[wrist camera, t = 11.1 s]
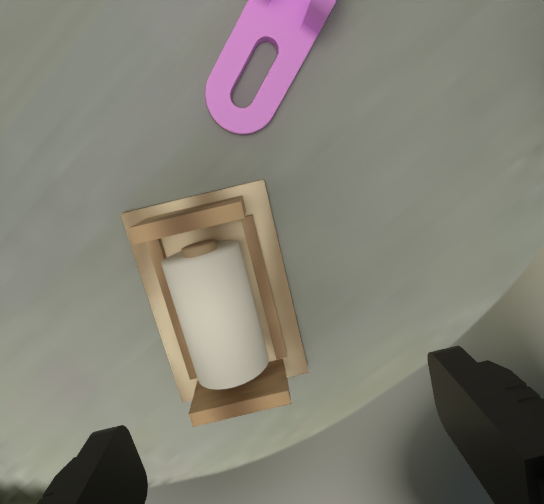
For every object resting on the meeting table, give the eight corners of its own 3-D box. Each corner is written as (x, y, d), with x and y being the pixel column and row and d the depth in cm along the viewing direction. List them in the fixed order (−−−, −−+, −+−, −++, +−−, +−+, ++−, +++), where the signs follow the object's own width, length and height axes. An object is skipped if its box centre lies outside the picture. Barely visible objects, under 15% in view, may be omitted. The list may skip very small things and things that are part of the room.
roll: (169, 245, 32) (148, 264, 26) (238, 228, 32) (233, 244, 26) (205, 362, 35) (194, 403, 29) (269, 347, 34) (271, 385, 29)
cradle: (263, 179, 32) (266, 183, 26) (307, 366, 36) (317, 406, 30) (124, 212, 32) (96, 223, 26) (184, 395, 36) (171, 440, 30)
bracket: (277, -48, 28) (285, -114, 22) (339, -4, 29) (366, -54, 22) (195, 111, 31) (179, 97, 24) (255, 147, 31) (256, 143, 25)
